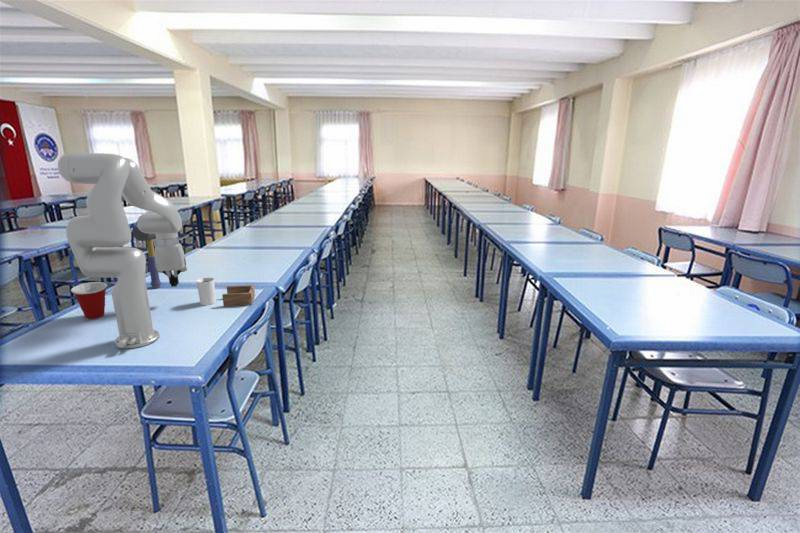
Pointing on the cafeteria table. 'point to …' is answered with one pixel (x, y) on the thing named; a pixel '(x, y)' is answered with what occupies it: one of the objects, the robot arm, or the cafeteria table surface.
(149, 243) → the rubber mallet
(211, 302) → the white paper cup
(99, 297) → the plastic cup
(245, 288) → the box
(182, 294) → the cafeteria table surface
